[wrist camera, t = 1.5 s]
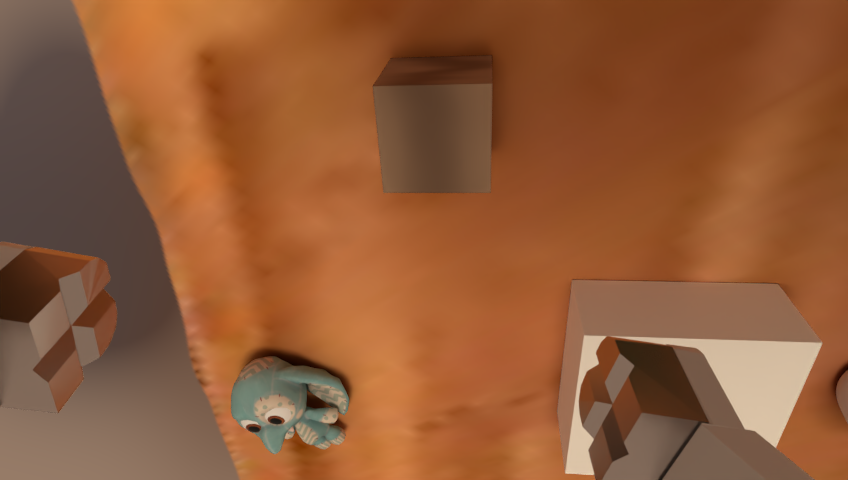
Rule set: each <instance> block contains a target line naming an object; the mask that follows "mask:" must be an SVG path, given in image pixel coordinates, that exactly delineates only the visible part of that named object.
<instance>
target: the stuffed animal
mask: <svg viewBox="0 0 848 480" xmlns="http://www.w3.org/2000/svg"><path fill="white" fill-rule="evenodd" d="M307 390H308V391H309V392H311V393H312V394H314V395H315V396H317V397H318V398H320V399H322V400H323V401H324V402H326V403H327V404H329V405H330V406H331V407H333V408H331V407H327V408H318V409H314V408H311V407H308V406H306V402H307ZM348 405H349V397H348V395H347V392H346V390H345V388H344V387H343V385H342V383H341V381H340V379H339V378H337V377H335V376H332V375H331V374H329V373H328V372H327V371H326V370H324V369H318V368H312V367H308V366H293V365H291V364H290V363H288V362H286V361H284V360H282V359H280V358H278V357H276V356H269V357H263V358H258V359H255V360H253V361H251V362H250V363H249V364H247V365H246V366H245V367H244V368H243V370H242V371H241V373H240V375H239V377H238V378H237V380H236V382H235V383H234V386H233V390H232V395H231V413H232V416H233V418H234V419H236V420H237V422H238V423H239V425H240V426H241V427H243V428H245V429H246V430H248V431H250V432H252V433H255V434H256V435H257V436H258V437H260V438H261V440H262V442H263V443H264V445H265V447H266V448H267V449H268V450H269V451H270V452H271V453H273V454H276V453H278V452H279V451H280V450H281V447H282V444H283V441H284V439H289V438H292V437H293V435H294V433H295V428H296V430H297V432H298V434H299V436H300V437H301V439H302V440H303V441H304V442H305V443H307V444H310V445H313V444H314V445H315V446H316V447H318V448H320V449H326V448H328V447H329V446H330V444H331V443H333V444H336V445H339V444H341V443H342V442H343V441H344V439H345V436H346V435H345V431H344V430H343V429H342V428H341V427H339V426H333V425H329V423H335V421H336V420H337V418H338V414H339V413H338V412H340V413H341V414H343V415H345V413H346V412H347V411H348Z"/></svg>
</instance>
